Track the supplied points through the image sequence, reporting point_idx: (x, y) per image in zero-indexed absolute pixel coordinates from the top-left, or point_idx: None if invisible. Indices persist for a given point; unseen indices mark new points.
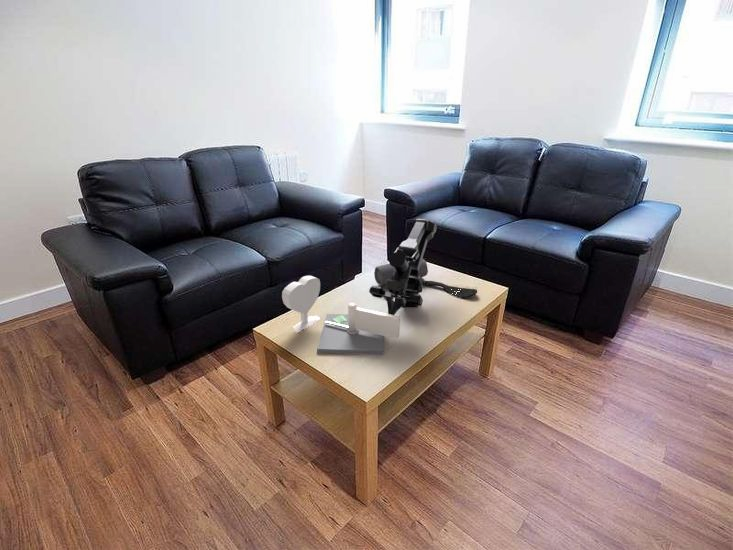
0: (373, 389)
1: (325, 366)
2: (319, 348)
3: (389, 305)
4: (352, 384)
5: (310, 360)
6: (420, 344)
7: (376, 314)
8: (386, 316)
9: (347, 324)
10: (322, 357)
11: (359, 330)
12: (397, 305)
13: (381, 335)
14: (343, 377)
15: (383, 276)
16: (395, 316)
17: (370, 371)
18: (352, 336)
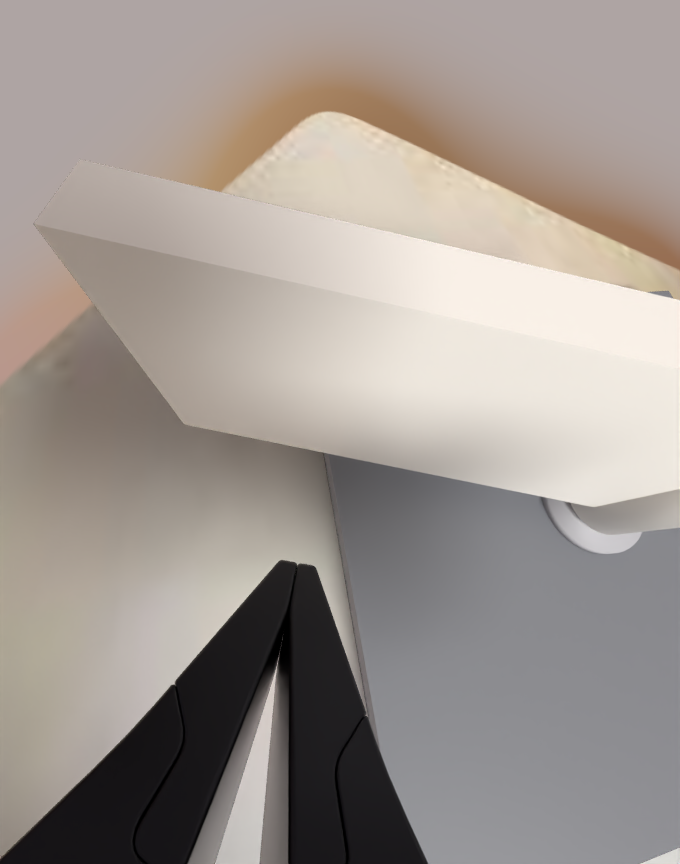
0: (306, 136)
1: (552, 231)
2: (660, 294)
3: (341, 800)
4: (398, 155)
5: (634, 258)
6: (15, 481)
7: (508, 268)
8: (318, 220)
9: (677, 589)
10: (600, 280)
11: (545, 519)
12: (29, 836)
13: (352, 483)
14: (448, 183)
15: None
16: (135, 218)
17: (344, 216)
18: None
